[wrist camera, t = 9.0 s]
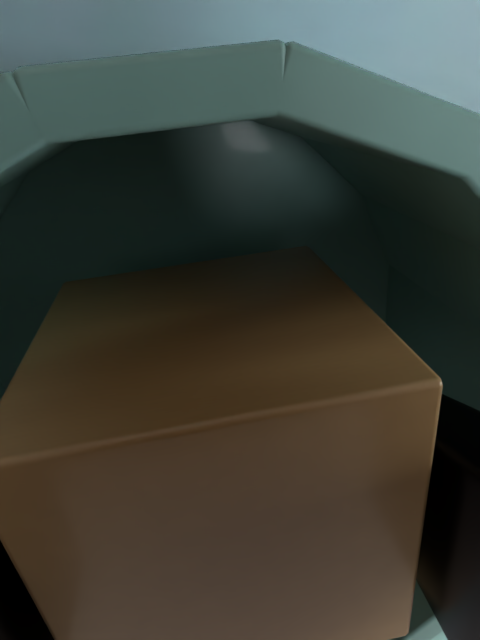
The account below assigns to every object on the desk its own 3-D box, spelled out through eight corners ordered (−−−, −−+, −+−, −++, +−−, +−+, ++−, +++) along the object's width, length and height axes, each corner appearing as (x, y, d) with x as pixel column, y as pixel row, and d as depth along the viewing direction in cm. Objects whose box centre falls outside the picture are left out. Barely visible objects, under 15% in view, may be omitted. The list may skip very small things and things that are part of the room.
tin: (414, 53, 10) (764, -13, 4) (386, 441, 15) (522, 646, 10) (-132, 113, 9) (-685, 138, 3) (45, 508, 14) (-35, 788, 8)
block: (308, 243, 9) (448, 380, 5) (313, 428, 11) (410, 637, 7) (61, 280, 9) (-43, 470, 4) (120, 466, 11) (91, 714, 6)
